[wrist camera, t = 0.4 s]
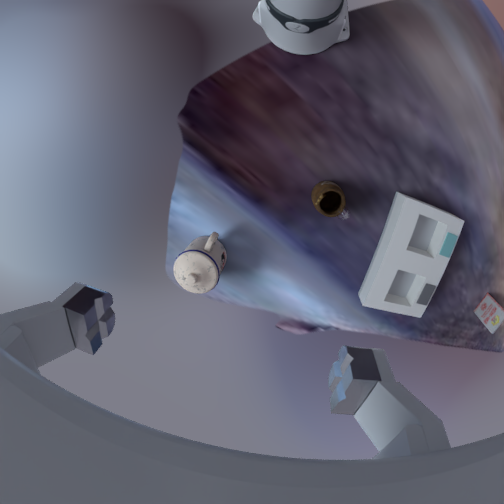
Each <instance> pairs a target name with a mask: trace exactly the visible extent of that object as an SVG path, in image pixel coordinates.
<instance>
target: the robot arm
mask: <svg viewBox="0 0 504 504" xmlns="http://www.w3.org/2000/svg"><path fill="white" fill-rule="evenodd" d="M253 20H254V21H255V22H256V23H257V24H259V25H260V26H262V27H263V29H264V31H265V33H266V35H267V36H268V38H269V39H270V40H271V41H272V42H273V43H274V44H275V45H276V46H278V47H279V48H281V49H283V50H285V51H288V52H291V53H295V54H302V55H308V54H315V53H319V52H322V51H324V50H326V49H327V48H329V47H330V46H331V45H333V44H334V43H337V42H342V41H346V40H348V39H349V36H350V31H349V17H348V6H347V0H261V1H260V2H259V3H258V6H257V8H256V9H255V11H254V13H253ZM343 29H344V30H345V31H343ZM112 304H113V299H112V295H111V294H110V293H109V292H106V291H103V290H100V289H97V288H95V287H92V286H89V285H86V284H83V283H81V282H75V283H74V284H73V285H72V286H71V287H69V288H68V289H67V290H66V291H64V292H63V293H62V294H61V295H60V296H58V297H57V298H56V299H55V300H54V301H53V302H50V301H48V302H44V303H41V304H37V305H33V306H30V307H26V308H22V309H18V310H15V311H11V312H7V313H4V314H0V504H504V433H502V434H499V435H496V436H493V437H490V438H487V439H483V440H480V441H477V442H473V443H470V444H466V445H462V446H458V447H454V448H451V447H450V444H449V440H448V437H447V435H446V431H445V428H444V425H443V422H442V420H440V419H439V418H438V417H437V416H436V415H435V414H434V413H433V412H432V411H430V410H429V409H428V408H427V407H426V406H425V405H424V404H423V403H422V402H421V401H419V400H418V399H417V398H416V397H415V396H414V395H413V394H412V393H411V392H409V391H408V390H407V389H406V388H405V387H404V386H403V385H402V384H401V383H400V382H396V381H395V379H394V375H393V372H392V370H391V367H390V364H389V361H388V359H387V356H386V353H385V351H384V350H383V349H374V348H370V349H369V348H360V347H352V346H344V345H343V346H342V348H341V349H340V351H339V353H338V356H339V360H338V361H336V362H334V363H333V365H332V367H331V370H330V374H329V380H328V384H329V389H330V390H331V391H332V392H333V394H332V395H331V397H330V405H331V413H336V414H347V415H354V417H355V419H356V420H357V421H358V423H359V424H360V426H361V427H362V428H363V430H364V431H365V433H366V434H367V435H368V437H369V438H370V440H371V441H372V442H373V444H374V445H375V446H376V448H377V449H378V450H379V453H378V454H377V455H376V456H375V457H374V458H372V459H364V460H318V459H300V458H288V457H278V456H270V455H262V454H256V453H249V452H243V451H238V450H232V449H227V448H223V447H218V446H213V445H209V444H205V443H201V442H197V441H193V440H189V439H185V438H182V437H179V436H175V435H172V434H169V433H166V432H163V431H160V430H157V429H154V428H151V427H148V426H145V425H142V424H140V423H137V422H134V421H132V420H129V419H127V418H124V417H122V416H119V415H117V414H114V413H112V412H110V411H108V410H105V409H103V408H101V407H99V406H97V405H94V404H92V403H90V402H88V401H86V400H84V399H82V398H80V397H78V396H77V395H75V394H73V393H71V392H69V391H67V390H65V389H64V388H61V387H60V386H58V385H56V384H55V383H53V382H51V381H50V380H48V379H46V378H45V377H43V376H41V374H40V372H39V370H38V367H40V366H42V365H44V364H46V363H48V362H50V361H52V360H54V359H56V358H58V357H60V356H62V355H64V354H66V353H68V352H70V351H72V350H74V349H75V348H77V349H80V350H82V351H84V352H87V353H89V354H92V355H94V354H95V353H96V351H97V350H98V349H99V348H100V346H101V345H102V339H103V338H105V337H108V336H109V335H110V333H111V332H112V330H113V327H114V325H115V313H114V312H113V310H112V309H111V307H110V306H111V305H112Z"/></svg>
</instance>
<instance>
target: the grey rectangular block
mask: <svg viewBox="0 0 504 504" xmlns="http://www.w3.org/2000/svg"><path fill="white" fill-rule="evenodd" d="M474 313H475V314H476V315H477V316H478V317H479V319H480V320H481V321H482V323H483V324H484V325H485V326H486V327H487V328H488V330H489V331H490V332H491V333H492V334H493V333H494V332H495V331H496V329H497V328H498V327H499V326H500V324H501V323H502V322H503V321H504V309H503V308H502V307H501V306H500V305H499V304H498V303H497V302H496V301H495V299H494V298H493V297H492V296H491V295H490V294H489V293H487V294H486V296H485V297H484V298H483V300H482V301H481V302H480V304H479V305H478V306H477V307H476V309H475V310H474Z"/></svg>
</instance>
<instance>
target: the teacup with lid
mask: <svg viewBox="0 0 504 504" xmlns="http://www.w3.org/2000/svg"><path fill="white" fill-rule="evenodd" d="M218 236H219V235H218V233H216V232H213V233H212V234H211V236H210V237H209V236H202V237H198V238H196V239H195V240H193V241H192V242H191V244H190V245H189V246H188V247H187V248H186V249H185V251H184V252H182V253H181V254H180V255H179V256H178V257H177V258H176V260H175V263H174V275H175V278H176V280H177V282H178V283H179V284H180V285H181V286H182V287H183V288H184V289H186V290H187V291H190V292H192V293H206V292H208V291H210V290H212V289H213V288H214V287H215V286H216V285H217V283H218V281H219V276H220V274H221V272H222V270H223V268H224V266H225V263H226V260H227V254H226V250H225V248H224V246H223V245H222V244H221V243H220V242H219V241H218V240H217V239H218Z"/></svg>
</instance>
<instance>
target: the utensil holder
mask: <svg viewBox="0 0 504 504" xmlns="http://www.w3.org/2000/svg"><path fill="white" fill-rule="evenodd" d="M311 196H312V202H313V204H314V206H315V208H316V209H317V211H319V212H320V213H321V214H323V215H325V216H327V217H335V216H338V215H339V214H340V215H341V214H342V212H345V211H343V210H344V208H345V204H346V201H345V195H344V193H343V191H342V189H341V188H340V187H339V186H338V185H337V184H335V183H333V182H331V181H322V182H319V183H318V184H316V185H315V187H314V188H313V190H312V195H311ZM346 209H347V208H346ZM347 212H348V209H347ZM349 212H350V211H349ZM343 215H344V214H343ZM345 215H347V214H345ZM338 217H340V216H338ZM343 217H344V216H343ZM343 217H342V218H343ZM345 217H346V216H345ZM343 219H344V218H343ZM343 219H342V220H343ZM344 220H345V219H344Z"/></svg>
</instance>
